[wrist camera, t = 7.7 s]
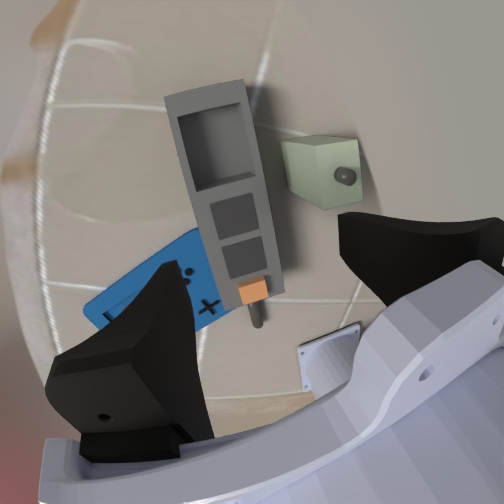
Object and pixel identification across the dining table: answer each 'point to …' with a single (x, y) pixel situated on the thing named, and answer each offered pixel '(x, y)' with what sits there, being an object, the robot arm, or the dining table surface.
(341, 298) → the dining table surface
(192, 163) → the power strip
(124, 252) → the dining table surface
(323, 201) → the charger
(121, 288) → the handheld gaming device
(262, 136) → the dining table surface
